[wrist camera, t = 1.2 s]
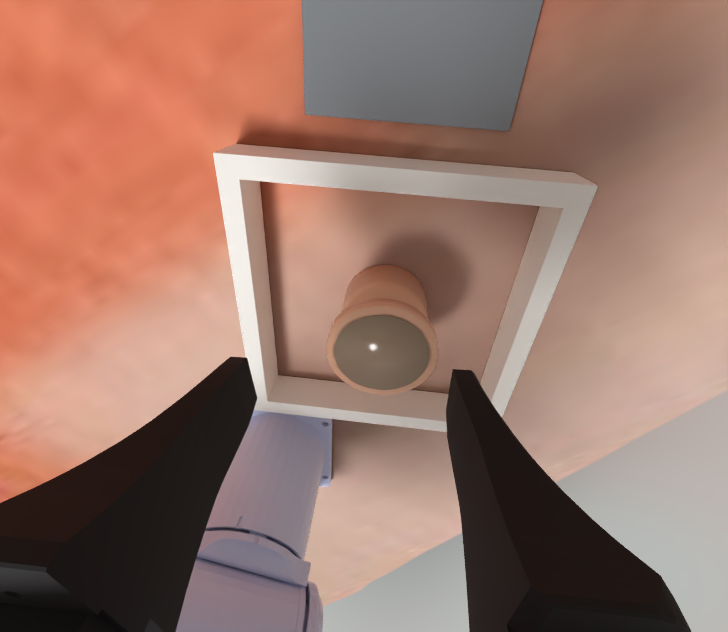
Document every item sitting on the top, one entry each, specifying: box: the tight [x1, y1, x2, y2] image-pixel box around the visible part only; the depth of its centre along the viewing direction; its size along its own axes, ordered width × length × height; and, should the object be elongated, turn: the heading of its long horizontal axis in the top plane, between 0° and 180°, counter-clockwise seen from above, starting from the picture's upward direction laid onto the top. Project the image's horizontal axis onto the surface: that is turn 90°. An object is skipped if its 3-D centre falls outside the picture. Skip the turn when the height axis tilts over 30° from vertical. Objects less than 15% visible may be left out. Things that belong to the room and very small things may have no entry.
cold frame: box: [213, 144, 598, 432], centre depth 20 cm, size 16×16×2 cm
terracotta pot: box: [326, 265, 438, 395], centre depth 19 cm, size 5×5×5 cm
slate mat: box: [302, 0, 543, 131], centre depth 14 cm, size 7×9×1 cm
